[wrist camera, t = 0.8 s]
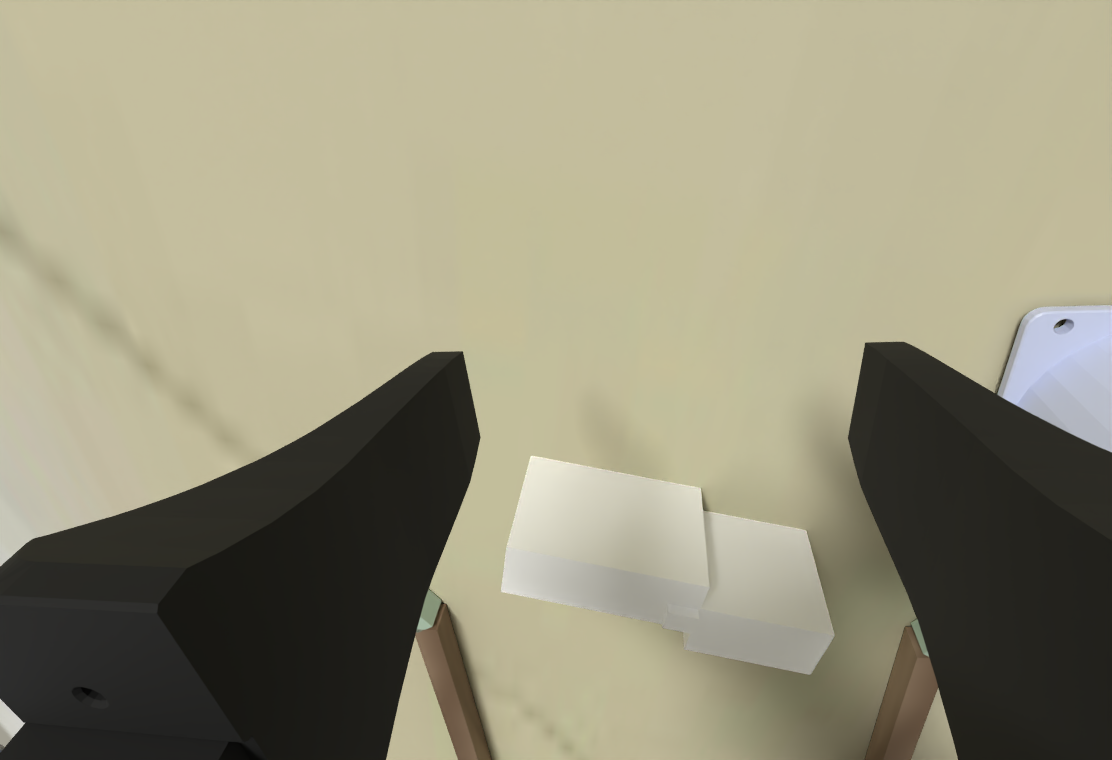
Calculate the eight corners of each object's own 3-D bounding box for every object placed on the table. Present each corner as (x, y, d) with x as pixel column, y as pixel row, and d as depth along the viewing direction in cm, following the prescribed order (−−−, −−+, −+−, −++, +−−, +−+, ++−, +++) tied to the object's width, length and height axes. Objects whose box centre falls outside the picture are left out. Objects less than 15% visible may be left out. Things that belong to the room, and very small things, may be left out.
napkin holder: (451, 470, 27) (406, 576, 22) (661, 316, 21) (662, 412, 17) (672, 653, 31) (675, 773, 27) (889, 562, 26) (941, 692, 21)
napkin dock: (1023, 562, 24) (1057, 616, 22) (903, 845, 37) (917, 896, 35) (356, 540, 29) (332, 583, 27) (453, 798, 42) (443, 841, 40)
